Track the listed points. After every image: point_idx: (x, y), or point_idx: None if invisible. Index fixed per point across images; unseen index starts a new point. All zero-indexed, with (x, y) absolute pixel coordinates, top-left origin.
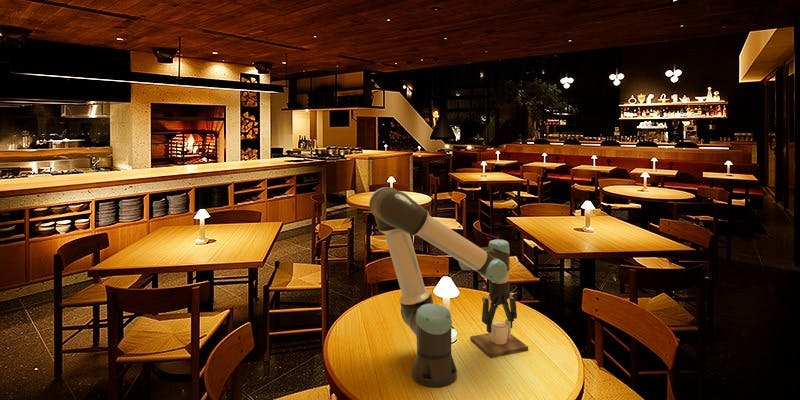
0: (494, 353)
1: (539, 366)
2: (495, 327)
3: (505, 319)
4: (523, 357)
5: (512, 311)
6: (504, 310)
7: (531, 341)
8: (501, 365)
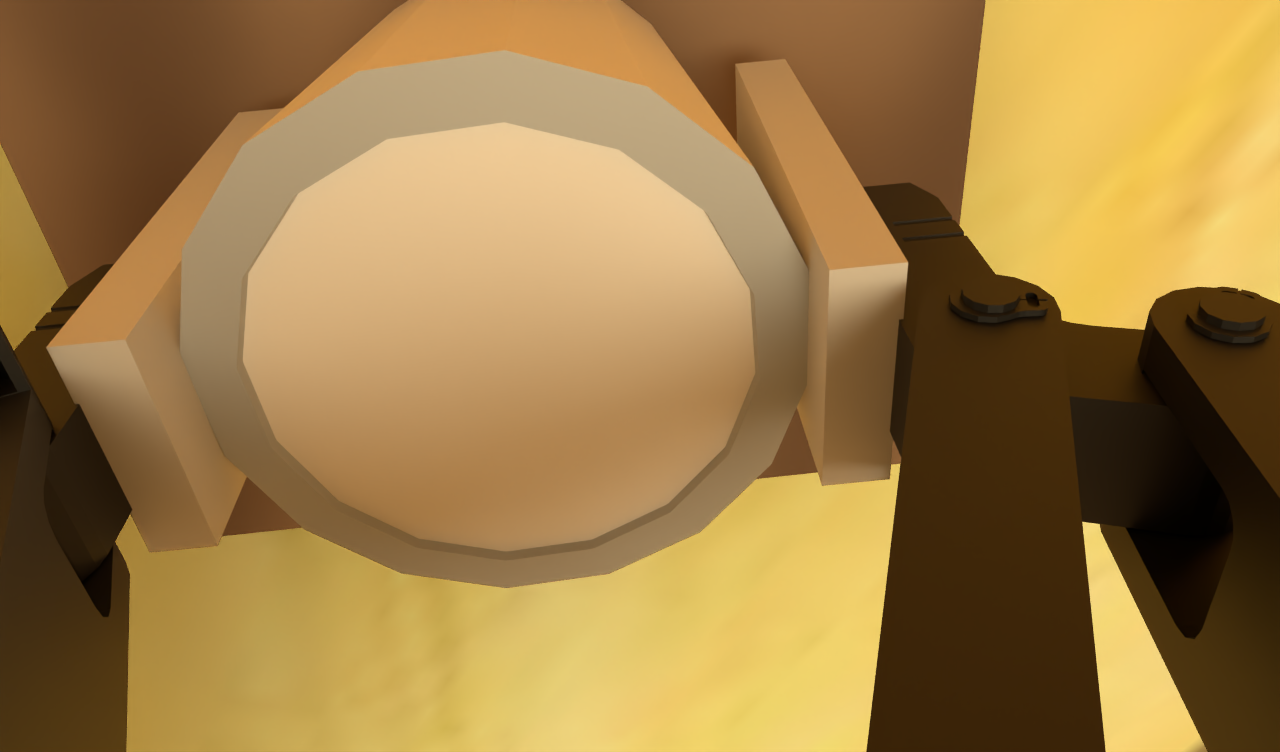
0: (259, 531)
1: (765, 744)
2: (296, 515)
3: (834, 282)
4: (708, 564)
5: (1226, 638)
6: (888, 589)
7: (1217, 140)
8: (313, 667)
